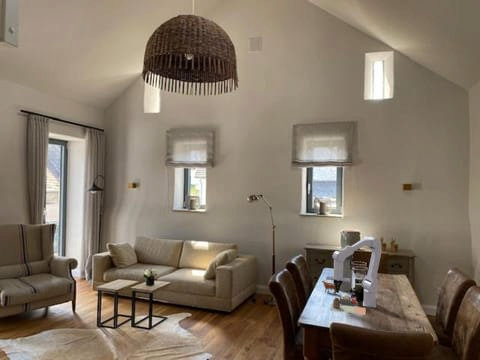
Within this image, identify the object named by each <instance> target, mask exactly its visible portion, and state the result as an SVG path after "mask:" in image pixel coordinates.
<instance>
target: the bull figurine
mask: <svg viewBox="0 0 480 360" xmlns="http://www.w3.org/2000/svg"><path fill="white" fill-rule="evenodd" d="M321 284H323V285H324V286H323V287H324V293H326V292H327V293H330V291H333V292H332V293H333V295H336V294H337V293H336V287H335V285H334V282H333V283H332V282H329V281H328V280H326V279H323V280H322V281H321ZM329 290H330V291H329Z"/></svg>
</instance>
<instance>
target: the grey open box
mask: <svg viewBox="0 0 480 360" xmlns="http://www.w3.org/2000/svg"><path fill="white" fill-rule="evenodd" d="M341 297H342V295H340V296H339V298H338V299H339V300H340V305H346V306H354V307H358V301H357V298H355V297H351V296H349V300H348V299H341Z"/></svg>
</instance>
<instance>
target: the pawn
mask: <svg viewBox="0 0 480 360" xmlns="http://www.w3.org/2000/svg"><path fill="white" fill-rule="evenodd" d="M339 299H340V298H338V297H335V298H334V299H333V300H332V301H333V302H332V304H333V308H336V309H339V308H340V305H341V304H340V300H339Z"/></svg>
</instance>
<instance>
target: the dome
mask: <svg viewBox="0 0 480 360" xmlns="http://www.w3.org/2000/svg"><path fill="white" fill-rule="evenodd" d="M341 296H342V297H341V299H348V300H349V297H350V296H349V295H348V294H347V293H343V294H341Z"/></svg>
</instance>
